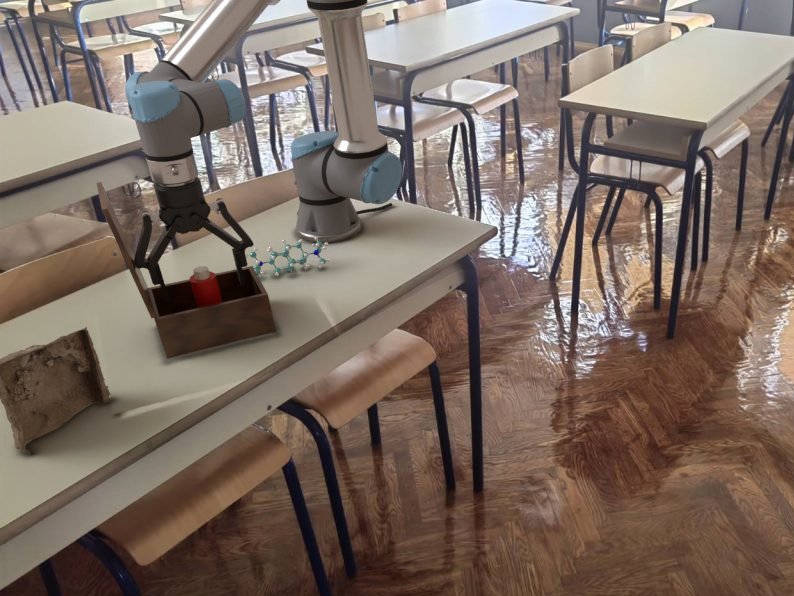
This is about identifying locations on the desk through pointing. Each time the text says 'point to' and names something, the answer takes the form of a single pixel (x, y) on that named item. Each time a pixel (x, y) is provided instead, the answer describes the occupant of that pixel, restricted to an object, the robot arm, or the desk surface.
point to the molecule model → (291, 261)
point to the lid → (125, 248)
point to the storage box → (212, 314)
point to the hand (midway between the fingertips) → (205, 290)
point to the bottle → (205, 287)
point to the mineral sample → (50, 385)
